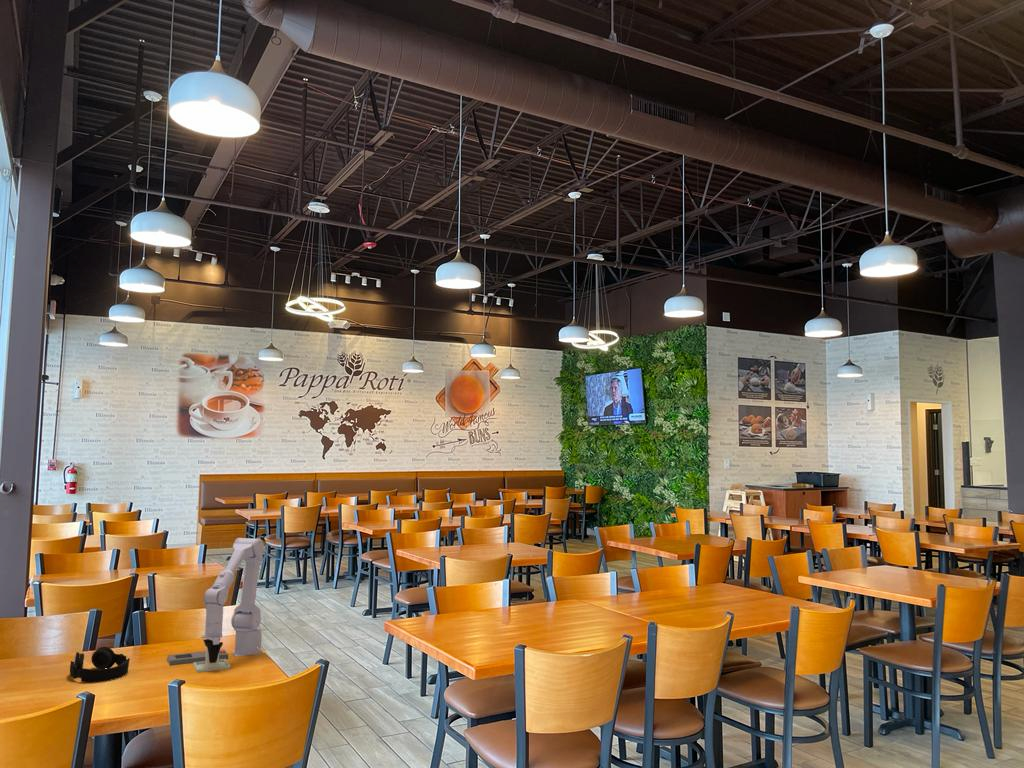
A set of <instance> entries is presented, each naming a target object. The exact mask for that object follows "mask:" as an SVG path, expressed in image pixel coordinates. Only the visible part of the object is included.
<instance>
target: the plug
mask: <svg viewBox="0 0 1024 768" xmlns="http://www.w3.org/2000/svg"><path fill="white" fill-rule="evenodd" d="M205 651H206V656H205V667H206V668H215V667H219V654H218V658H217V661H216V663H210V661H209V653H208V648H207V646H205Z"/></svg>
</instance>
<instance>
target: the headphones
mask: <svg viewBox="0 0 1024 768" xmlns="http://www.w3.org/2000/svg"><path fill="white" fill-rule="evenodd" d="M74 654H75V655H74V659H73V660H71V661H70V665H69V675H70V677H71V678H74V679H75V680H76V679H77V678H79V679H80V681H81V682H82V683H90V684H91V683H102V681H103V682H108V681H107V680H109V681H112V680H111V679H113V680H116V679H115V678H117V679H119V678H118V677H120V678H122V677H121V676H123V675H125V674H126V673H127V674H128V672H129V667H130V660H131V658H130V657H127V655H124V654H123V653H115V652H114V650H113V649H111V648H110V647H109V646H100V647H98V648H97V649H96V650H94V652H93V653H92V655H91V662H92V665H93V666H94V667H95V668H94V669H93V668H84V660H85V653H83V652H82V653H80V652H75V653H74ZM115 664H116V666H114V665H115ZM105 668H107V669H105ZM127 674H126V675H127ZM126 675H125V676H126ZM123 677H124V676H123Z"/></svg>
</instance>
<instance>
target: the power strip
mask: <svg viewBox="0 0 1024 768" xmlns="http://www.w3.org/2000/svg"><path fill="white" fill-rule="evenodd" d="M219 642H221V640H220V641H219ZM205 656H206V650H203V651H193V652H185V653H175V654H167V663H168V665H169V666H177V665H185V664H193V662H202V661H205ZM220 659H226V660H229V653H228V651H226V649H225V648H220V651H219V660H220Z"/></svg>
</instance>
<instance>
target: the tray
mask: <svg viewBox="0 0 1024 768" xmlns="http://www.w3.org/2000/svg"><path fill="white" fill-rule="evenodd" d="M227 660H228V659H220V660H219V667H215V668H206V667H205V661H202V662H193V663H192V665H193V667H194V669H195V671H196V673H204V672H212V671H222V670H230V669H231V668H232V667H231V665H230V663H229V662H228V661H227Z"/></svg>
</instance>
